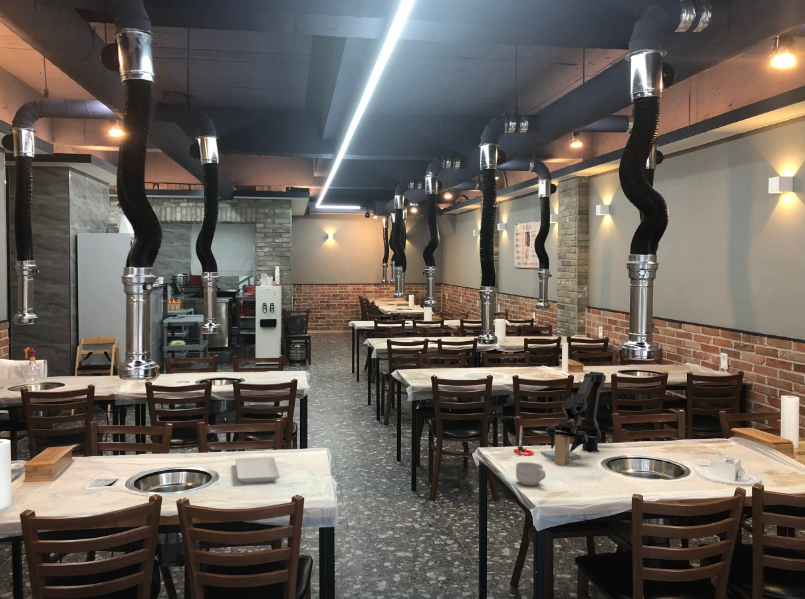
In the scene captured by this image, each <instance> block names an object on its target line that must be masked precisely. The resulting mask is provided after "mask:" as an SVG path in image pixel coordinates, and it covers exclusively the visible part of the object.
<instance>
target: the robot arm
mask: <svg viewBox="0 0 805 599" xmlns="http://www.w3.org/2000/svg"><path fill="white" fill-rule="evenodd" d="M606 380H607V377H606V374H605V373H604V372H602V371H589V373H586V372H585V374H584V376H583V380H582V382H581V384H580V386H579V389H578V391H577V393H576V394H575V395H574V396H572V397H567V398H566V399H564V400H563V401H562V402H561V404H560V406H561V408H562V410H563V412H564V415H565V416H566V418H559V419H558V423H557V426H558V427H559V429H560V430H558V429H557V427H555V426H547V427H546V429H545V431H546V433H547V436H548V437H549V438H550V449H553V450H554V448H555V436H556V435H559V434H562V435H568V436H570V438H573V441H572V444H571V446H570V452H573V451H575V450H576V449H577V448H578V447H579V446H582V448H583V450H582V451H585V450H586V451H585V452H587V451H588V452H587V453H593V452H592V451H597V452H600V451H599V450H600V449H598V447H599V446H598V445H599V441H600V440H601V437H602V433H601V431H600V429H599V423H598V421H597V414H598V413H597V412H598V407H599V400H600V392H601V390H602V388H604V386H605V383H606ZM587 399H588V402H587ZM585 412H586V416H585V417H584V419H582V417H581V414H580V413H585ZM580 421H581V424H580V427H579V430H578V424H579V422H580Z"/></svg>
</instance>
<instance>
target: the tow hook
mask: <svg viewBox="0 0 805 599" xmlns="http://www.w3.org/2000/svg"><path fill="white" fill-rule="evenodd" d="M514 451H516V452H515V454H516V453H517V454H516V455H518V454H520V455H519V456H521V455H524V456H523V457H532V456H533V455H534V452H533V451H532V450H529V449H527V448H524V447H523V425H520V426H519V441H518V445H517V448H516V449H515V448H514V449H513V452H514ZM520 451H523V453H522V452H520ZM531 455H532V456H531Z"/></svg>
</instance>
